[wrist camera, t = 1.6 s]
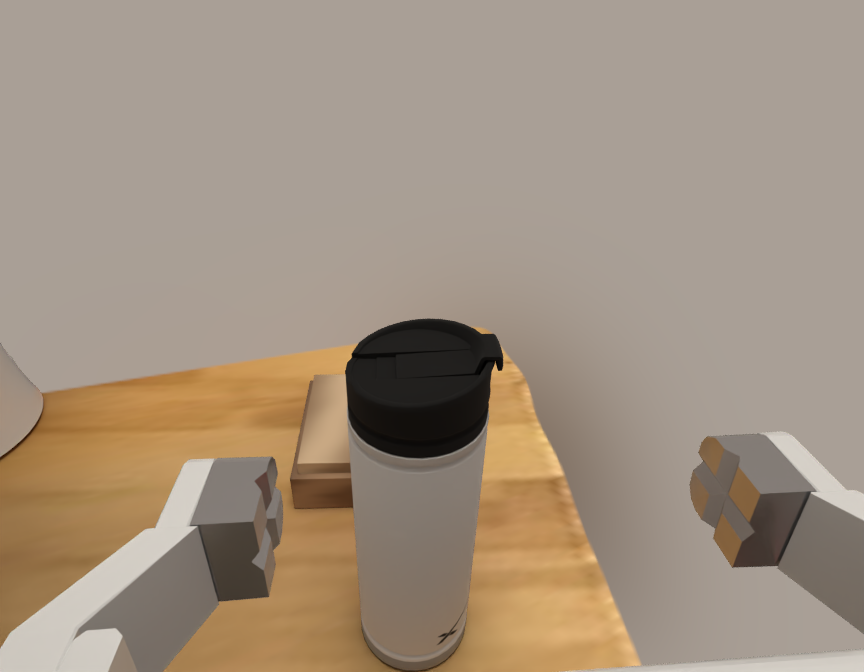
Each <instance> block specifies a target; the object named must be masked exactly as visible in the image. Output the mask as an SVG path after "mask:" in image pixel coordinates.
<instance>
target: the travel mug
mask: <svg viewBox="0 0 864 672" xmlns="http://www.w3.org/2000/svg"><path fill="white" fill-rule="evenodd" d="M495 361H496V365H497V369H498V371H502V368H503V354H502V350H501V347H500V344H499V341H498V339H497V337H496V335H494V334H481V333H479V332H478V331H476V330H475V329H473V328H471V327H469V326H467V325H465V324H461V323H458V322H455V321H449V320H443V319H417V320H410V321H404V322H400V323H396V324H393V325H390V326H387V327H385V328H382V329H380V330H378V331H376V332H374V333H372V334H370V335H369V336H367V337H366V338H365V339H363V340H362V341H361V342H359V344H358V345H357V347H356V348H355V350H354V351H353V353H352V358H351V359H350V360H349V361H348V363H347V367H346V370H345V374H346V390H347V405H348V406H347V424H348V438H349V452H350V466H351V480H352V495H353V509H354V523H355V537H356V551H357V565H358V580H359V594H360V608H361V622H362V631H363V634H364V638H365V640H366V642H367V644H368V646H369V648H370V649H371V650H372V652H373V653H374V654H375V655H376V656H377V657H378V658H379V659H381V660H382V661H383V662H384V663H386V664H388V665H390V666H392V667H395V668H398V669H402V670H411V671H417V670H424V669H428V668H431V667H433V666H436V665H438V664H440V663H441V662H443V661H444V660H446V659H447V658H448V657H449V656H450V655H451V654H452V653H453V652H454V651H455V650H456V648H457V647H458V645H459V644H460V642H461V639H462V637H463V634H464V630H465V624H466V616H467V607H468V598H469V589H470V580H471V571H472V562H473V553H474V544H475V536H476V527H477V518H478V509H479V500H480V491H481V482H482V473H483V464H484V455H485V446H486V437H487V425H488V420H489V410H488V408H489V403H488V402H489V398H490V380H491V372H492V369H493V367H494V364H495Z"/></svg>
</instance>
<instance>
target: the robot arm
mask: <svg viewBox="0 0 864 672" xmlns="http://www.w3.org/2000/svg"><path fill="white" fill-rule="evenodd" d="M42 409H43V397H42V394H41V392H40V391H39V389H38V388H37V387H36V386H35V385H34V384H33V383H32V382H31V381H30V380H29V379H28V378H27V377H26V376H25V375H24V374H23V373H22V371H21V370H20V369H19V368H18V366H17V365H16V363H15V362H14V360H13V358H12V357H11V356H9V355H8V354H7V352H6V351H5V349H4V348H3V346H2V345H1V343H0V457H1V456H2V455H4V454H5V453H6V452H8V451H9V450H10V449H12V448H13V447H14V446H15V445H16V444H18V443H19V442H20V441H21V440H22V439H23V438H24V437H25V436H26V435H27V434H28V433H29V432H30V430H31V429H32V428H33V427H34V425H35V424H36V422H37V421H38V419H39V417H40V415H41V412H42ZM698 453H699V455H700V456H701V458H702V460H703V462H702V463H701V464H700V465H699V466H698V467H697V468H695V469H694V470H693V473H692V477H691V481H690V493H691V499H692V502H693V505H694V508H695V510H696V512H697V513H698V515H699V516H700V518H701V519H702V520H703V521H705V522H706V523H708V524H709V525H711V526H712V527H714V528H715V533H714V537H713V538H714V540H715V542H716V543H717V545H718V546H719V548H720V549H721V551H722V552H723V554H724V556H725V557H726V559H727V560H728V562H729V563H730V565H731V566H732V568H733V567H763V566H778V569H779V570H780V571H782V572H783V573H784V574H786V575H787V576H788V577H790V578H791V579H792V580H794V581H795V582H796V583H798V584H799V585H800V586H801V587H803V588H804V589H805V590H807V591H808V592H809V593H811V594H812V595H813V596H814V597H816V598H817V599H818V600H820V601H821V602H822V603H824V604H825V605H827V606H828V607H829V608H830V609H832V610H833V611H834V612H836V613H837V614H838V615H839V616H841V617H842V618H843V619H845V620H846V621H847V622H849V623H850V624H851V625H853V626H854V627H855V628H857V629H858V630H859V631H860V632H862V633H863V634H864V494H862V493H860V492H858V491H856V490H846V489H845V488H844V487H843V486H842V485H841V484H840V483H839V482H838V481H837V480H836V479H835V478H834V477H833V476H832V475H831V474H830V473H829V472H828V471H827V470H826V469H825V468H824V467H823V466H822V465H821V464H820V463H819V462H818V461H817V460H816V459H815V458H814V457H813V456H812V455H811V454H810V453H809V452H808V451H807V450H806V449H805V448H804V447H803V446H802V445H801V444H800V443H799V442H798V441H797V440H796V439H795V438H794V437H793V436H792V435H790V434H788V433H786V432H768V433H758V434H745V435H744V434H743V435H725V436H708V437H706V438H705V439H704V440H703V442H702V443H701V446H700V450H699V452H698ZM277 474H278V472H277V467H276V463H275V459H274V458H273V457H246V458H217V459H189V460H188V461H187V462H186V463H185V464H184V465H183V466H182V469H181V471H180V473H179V475H178V478H177V480H176V482H175V484H174V486H173V489H172V491H171V493H170V495H169V497H168V500H167V502H166V504H165V506H164V509H163V511H162V513H161V515H160V517H159V520H158V522H157V524H156V526H155V528H151V529H145V530H144V531H142V532H141V533H140V534H138V535H137V536H136V537H135V538H133V539H132V540H131V541H129V542H128V543H127V544H125V545H124V546H123V547H121V548H120V549H119V550H118V551H116V552H115V553H114V554H112V555H111V556H110V557H108V558H107V559H106V560H104V561H103V562H102V563H101V564H99V565H98V566H97V567H95V568H94V569H93V570H91V571H90V572H89V573H87V574H86V575H85V576H84V577H82V578H81V579H80V580H78V581H77V582H76V583H74V584H73V585H72V586H70V587H69V588H68V589H67V590H65V591H64V592H63V593H61V594H60V595H59V596H57V597H56V598H55V599H54V600H52V601H51V602H50V603H48V604H47V605H46V606H44V607H43V608H42V609H40V610H39V611H38V612H37V613H35V614H34V615H33V616H31V617H30V618H29V619H27V620H26V621H25V622H23V623H22V624H21V625H20V626H18V627H17V628H16V629H14V630H13V631H12V632H10V634H9V635H8V637H7V639H6V640H5V642H4V644H3V645H2V647H1V649H0V672H163V671H164V669H165V668H166V667H167V666H168V665H169V664H170V662H171V661H172V660H173V659H174V658H175V656H176V655H177V654H178V653H179V652H180V650H181V649H182V648H183V647H184V646H185V644H186V643H187V642H188V641H189V640H190V638H191V637H192V636H193V635H194V634H195V633H196V631H197V630H198V629H199V628H200V627H201V625H202V624H203V623H204V622H205V621H206V619H207V618H208V617H209V616H210V615H211V613H212V612H213V611H214V610H215V609H216V607H217V606H218V605H219V603H218V602H219V601H230V600H241V599H252V598H263V597H269V595H270V590H271V585H272V580H273V575H274V570H275V565H276V564H275V558H274V552H273V550H274V549H275V548H276V547H277V546H278V545H279V544H280V539H281V534H282V524H283V504H282V496H281V491H279V490H278V489H277V488H276V487H275V484H276V479H277ZM562 672H864V649H855V650H842V651H828V652H815V653H801V654H789V655H775V656H762V657H748V658H735V659H722V660H710V661H696V662H683V663H671V664H656V665H643V666H630V667H616V668H603V669H589V670H576V671H562Z"/></svg>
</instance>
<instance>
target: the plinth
mask: <svg viewBox="0 0 864 672" xmlns="http://www.w3.org/2000/svg"><path fill="white" fill-rule="evenodd" d="M347 406H348V405H347V390H346V375H314V380H313V381H310V384H309V389H308V394H307V399H306V404H305V409H304V414H303V419H302V424H301V429H300V434H299V439H298V444H297V449H296V453H295V458H294V463H293V468H292V473H291V478H290V481H291V487H292V494H293V500H294V507H295V508H331V507H353V495H352V480H351V466H350V452H349V438H348V424H347Z"/></svg>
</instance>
